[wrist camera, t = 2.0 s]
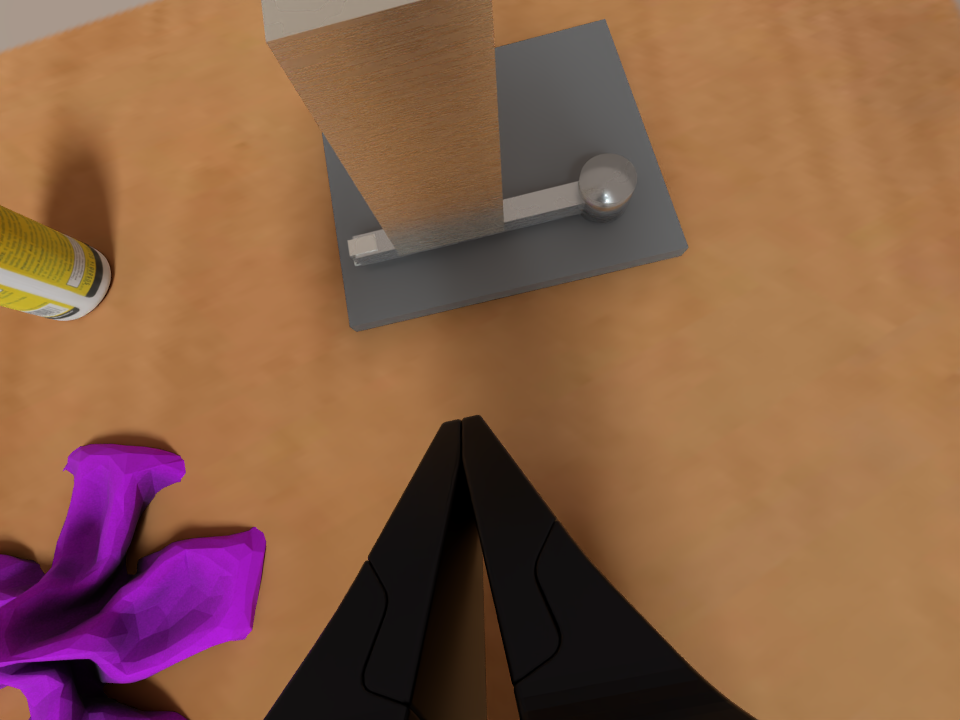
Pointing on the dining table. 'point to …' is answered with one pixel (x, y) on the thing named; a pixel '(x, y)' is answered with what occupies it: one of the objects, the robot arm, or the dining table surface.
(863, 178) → the dining table surface
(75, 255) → the supplement bottle
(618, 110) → the plate
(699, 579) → the dining table surface
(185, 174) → the dining table surface
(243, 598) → the cloth
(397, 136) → the frosted block on spoon
